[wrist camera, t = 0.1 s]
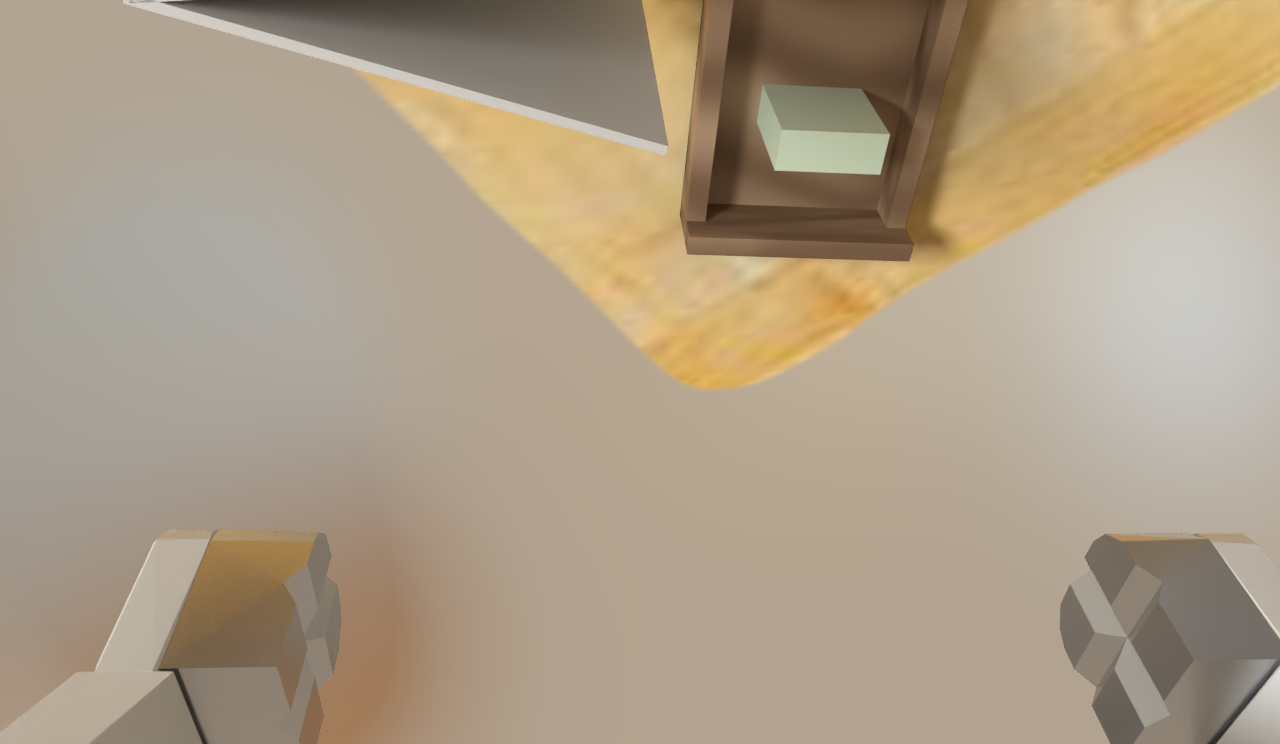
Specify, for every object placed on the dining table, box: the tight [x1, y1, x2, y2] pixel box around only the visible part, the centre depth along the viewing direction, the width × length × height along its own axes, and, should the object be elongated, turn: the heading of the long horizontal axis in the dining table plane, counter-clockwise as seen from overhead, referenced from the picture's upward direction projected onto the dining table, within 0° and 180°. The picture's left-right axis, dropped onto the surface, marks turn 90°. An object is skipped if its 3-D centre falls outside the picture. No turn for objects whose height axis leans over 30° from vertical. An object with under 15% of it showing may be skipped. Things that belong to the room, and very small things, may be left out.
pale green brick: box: [757, 84, 890, 175], centre depth 54 cm, size 2×6×6 cm, turn 86°
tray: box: [680, 0, 968, 261], centre depth 54 cm, size 21×14×5 cm, turn 176°
